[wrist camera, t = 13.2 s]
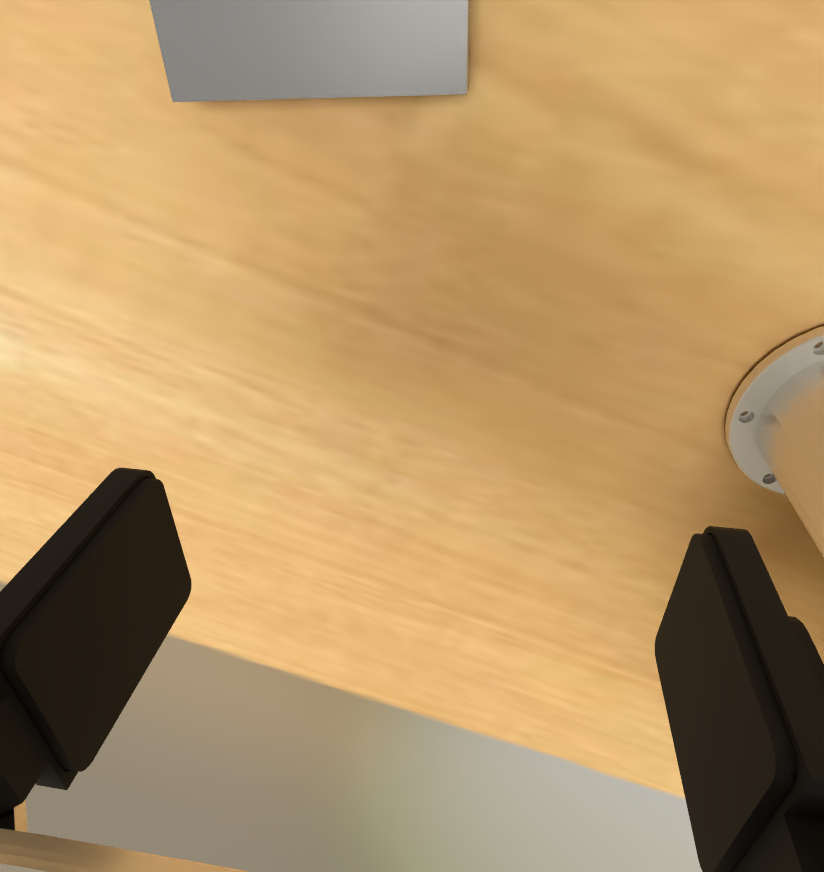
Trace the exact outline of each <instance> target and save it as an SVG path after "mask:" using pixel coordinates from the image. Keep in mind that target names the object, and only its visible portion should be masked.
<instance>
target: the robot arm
mask: <svg viewBox="0 0 824 872" xmlns="http://www.w3.org/2000/svg"><path fill="white" fill-rule="evenodd" d="M725 434H726V442H727V445H728V448H729V450H730V452H731V455H732V457H733V458H734V460H735V462H736V463H737V465H738V467H739V469H740V470H741V471H742V472H743V473H744V474H745V475H746V476H747V477H748V478H749V479H750V480H752V481H753V482H755V483H756V484H758V485H759V486H761V487H763V488H766V489H768V490H771V491H774V492H776V493H779V494H784V495H786V496H787V498H788V499H789V501H790V503H791V504H792V506H793V507H794V509H795V511H796V512H797V514H798V516H799V517H800V519H801V521H802V522H803V524H804V526H805V527H806V529H807V531H808V532H809V534H810V535H811V537H812V539H813V540H814V542H815V544H816V545H817V547H818V549H819V550H820V552H821V554H822V555H823V557H824V326H822V327H819V328H816V329H814V330H811V331H809V332H807V333H805V334H802V335H800V336H798V337H796V338H794V339H792V340H791V341H789V342H787V343H786V344H784V345H782V346H781V347H779V348H778V349H776V350H774V351H773V352H772V353H771V354H770V355H768V356H767V357H766V358H765V359H764V360H762V361H761V362H760V363H759V364H758V365H757V366H756V367H755V368H754V369H753V370H752V371H751V372H750V373H749V375H748V376H747V377H746V378H745V379H744V380H743V382H742V383H741V385H740V386H739V388H738V390H737V391H736V393H735V394H734V396H733V398H732V401H731V404H730V406H729V409H728V412H727V417H726V424H725ZM190 591H191V578H190V574H189V571H188V567H187V564H186V560H185V557H184V554H183V550H182V547H181V543H180V540H179V537H178V533H177V530H176V526H175V523H174V519H173V516H172V513H171V509H170V506H169V502H168V499H167V496H166V492H165V489H164V485H163V483H162V482H161V481H160V480H158V479H156V478H155V476H154V474H153V473H152V472H151V471H148V470H139V469H129V468H117V469H115V470H114V471H112V472H111V473H110V474H109V475H108V476H107V478H106V479H105V480H104V481H103V482H102V483H101V484H100V485H99V486H98V487H97V488H96V489H95V490H94V492H93V493H92V494H91V495H90V496H89V497H88V498H87V499H86V500H85V501H84V502H83V503H82V504H81V506H80V507H79V508H78V509H77V510H76V511H75V512H74V513H73V514H72V515H71V516H70V517H69V518H68V520H67V521H66V522H65V523H64V524H63V525H62V526H61V527H60V528H59V529H58V530H57V531H56V532H55V534H54V535H53V536H52V537H51V538H50V539H49V540H48V541H47V542H46V543H45V544H44V545H43V546H42V548H41V549H40V550H39V551H38V552H37V553H36V554H35V555H34V556H33V557H32V558H31V559H30V560H29V561H28V563H27V564H26V565H25V566H24V567H23V568H22V569H21V570H20V571H19V572H18V573H17V574H16V575H15V577H14V578H13V579H12V580H11V581H10V582H9V583H8V584H7V585H6V586H5V587H4V589H2V591H1V592H0V872H248V871H243V870H237V869H232V868H226V867H221V866H215V865H210V864H204V863H199V862H193V861H187V860H182V859H176V858H171V857H165V856H159V855H154V854H148V853H143V852H137V851H131V850H126V849H120V848H114V847H108V846H103V845H98V844H92V843H86V842H81V841H75V840H69V839H63V838H57V837H52V836H46V835H39V834H33V833H28V831H27V817H26V804H25V799H26V797H27V796H28V794H29V793H30V791H31V789H32V788H33V786H34V785H35V783H36V785H40V786H47V787H52V788H58V789H64V790H67V789H68V788H69V786H70V784H71V783H72V781H73V779H74V778H75V776H76V774H77V773H78V771H83V770H85V769H86V768H87V767H88V766H89V765H90V764H91V763H92V761H93V760H94V758H95V756H96V754H97V753H98V751H99V749H100V748H101V746H102V744H103V743H104V741H105V739H106V737H107V736H108V734H109V732H110V731H111V729H112V727H113V725H114V724H115V722H116V720H117V719H118V717H119V715H120V714H121V712H122V710H123V708H124V707H125V705H126V703H127V702H128V700H129V698H130V697H131V694H132V693H133V692H134V690H135V688H136V686H137V685H138V683H139V681H140V680H141V678H142V676H143V675H144V673H145V671H146V669H147V668H148V666H149V664H150V662H151V661H152V659H153V658H154V656H155V654H156V652H157V651H158V649H159V647H160V646H161V644H162V642H163V640H164V639H165V637H166V635H167V634H168V632H169V630H170V629H171V627H172V625H173V623H174V622H175V620H176V618H177V617H178V615H179V613H180V612H181V610H182V608H183V606H184V605H185V603H186V601H187V599H188V597H189V595H190ZM655 657H656V662H657V667H658V672H659V677H660V681H661V686H662V691H663V695H664V700H665V705H666V709H667V714H668V719H669V723H670V728H671V733H672V737H673V742H674V747H675V752H676V756H677V761H678V766H679V770H680V775H681V780H682V784H683V789H684V794H685V798H686V803H687V808H688V812H689V817H690V822H691V826H692V831H693V836H694V841H695V845H696V850H697V855H698V859H699V863H700V867H701V869H702V871H703V872H824V664H823V662H822V660H821V658H820V656H819V654H818V651H817V649H816V647H815V645H814V643H813V641H812V639H811V637H810V635H809V633H808V631H807V629H806V628H805V626H804V625H803V623H802V622H801V621H800V620H798V619H797V618H795V617H790V616H788V615H787V613H786V611H785V609H784V606H783V604H782V602H781V600H780V598H779V595H778V593H777V591H776V589H775V587H774V584H773V582H772V580H771V578H770V576H769V573H768V571H767V569H766V567H765V565H764V562H763V560H762V558H761V556H760V554H759V551H758V549H757V547H756V545H755V543H754V540H753V538H752V536H751V535H750V533H749V532H748V531H747V530H744V529H734V528H724V527H714V526H709V527H707V528H706V529H705V531H704V533H703V534H694V535H693V536H692V538H691V541H690V544H689V546H688V549H687V552H686V555H685V558H684V560H683V563H682V566H681V569H680V572H679V574H678V577H677V580H676V583H675V586H674V588H673V591H672V594H671V597H670V599H669V602H668V605H667V608H666V611H665V613H664V616H663V619H662V622H661V625H660V627H659V630H658V633H657V636H656V641H655Z"/></svg>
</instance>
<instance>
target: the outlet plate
mask: <svg viewBox="0 0 824 872" xmlns="http://www.w3.org/2000/svg"><path fill="white" fill-rule="evenodd" d="M149 1H150V5H151V10H152V14H153V18H154V23H155V27H156V31H157V36H158V40H159V44H160V49H161V53H162V57H163V62H164V66H165V70H166V75H167V79H168V83H169V88H170V92H171V96H172V101H173V102H195V101H233V100H270V99H308V98H346V97H384V96H421V95H459V94H467V91H468V88H469V41H470V0H149Z"/></svg>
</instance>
